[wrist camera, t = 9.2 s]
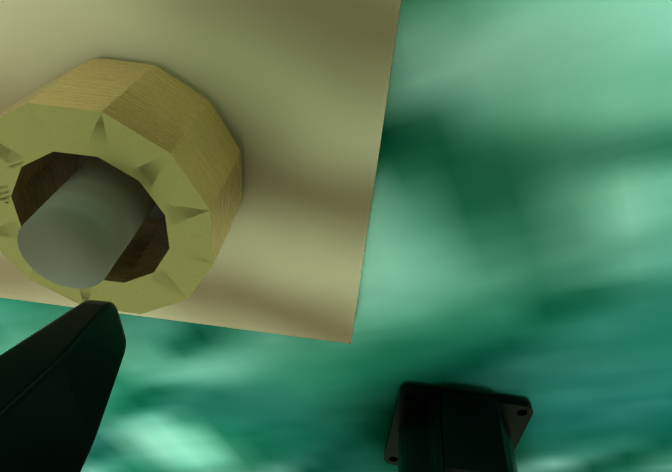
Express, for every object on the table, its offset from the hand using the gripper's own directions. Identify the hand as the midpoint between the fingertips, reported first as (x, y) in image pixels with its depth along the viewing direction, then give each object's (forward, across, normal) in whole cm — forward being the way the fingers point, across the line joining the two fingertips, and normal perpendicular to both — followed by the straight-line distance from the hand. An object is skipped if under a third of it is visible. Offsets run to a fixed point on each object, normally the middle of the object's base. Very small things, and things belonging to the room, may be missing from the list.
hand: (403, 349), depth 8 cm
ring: (+10, +8, +3) cm, 13 cm away
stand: (+12, +9, +3) cm, 15 cm away
